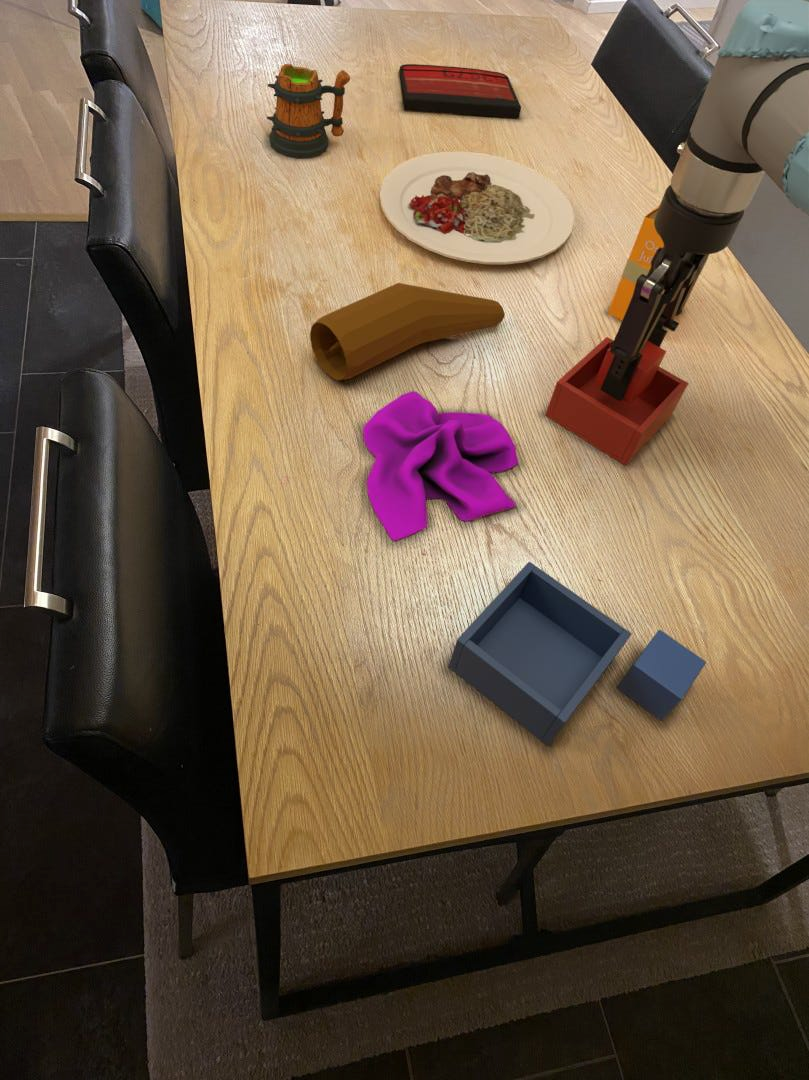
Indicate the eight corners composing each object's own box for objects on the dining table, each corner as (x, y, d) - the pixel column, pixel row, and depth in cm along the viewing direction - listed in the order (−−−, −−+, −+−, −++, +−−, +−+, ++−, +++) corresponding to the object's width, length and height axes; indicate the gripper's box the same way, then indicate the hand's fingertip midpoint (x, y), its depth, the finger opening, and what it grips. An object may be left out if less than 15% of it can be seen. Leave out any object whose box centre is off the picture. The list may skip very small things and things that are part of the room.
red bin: (671, 416, 95) (689, 383, 91) (625, 466, 90) (642, 433, 85) (593, 370, 99) (607, 336, 94) (544, 415, 93) (556, 381, 89)
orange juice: (683, 310, 108) (748, 175, 92) (654, 339, 104) (718, 202, 88) (636, 285, 111) (691, 149, 95) (606, 312, 106) (659, 174, 90)
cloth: (373, 387, 93) (377, 348, 88) (522, 414, 93) (534, 376, 88) (337, 531, 80) (339, 494, 75) (511, 562, 80) (524, 527, 75)
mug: (266, 157, 121) (262, 79, 112) (269, 125, 127) (266, 49, 117) (347, 163, 122) (351, 87, 113) (347, 131, 128) (350, 56, 119)
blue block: (685, 684, 74) (707, 661, 69) (661, 721, 71) (682, 699, 67) (640, 653, 75) (659, 628, 71) (615, 687, 73) (633, 664, 69)
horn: (486, 335, 105) (343, 409, 94) (448, 271, 104) (300, 338, 93) (517, 308, 98) (366, 385, 87) (475, 239, 97) (318, 308, 86)
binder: (521, 105, 135) (404, 97, 132) (519, 119, 137) (403, 111, 134) (507, 68, 145) (398, 60, 142) (505, 81, 146) (397, 74, 144)
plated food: (608, 224, 120) (615, 204, 117) (487, 300, 105) (492, 280, 102) (465, 143, 130) (468, 123, 127) (338, 203, 115) (338, 182, 113)
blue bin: (612, 660, 74) (632, 633, 70) (548, 746, 68) (565, 722, 64) (516, 591, 78) (529, 561, 73) (447, 667, 72) (456, 639, 68)
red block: (650, 383, 90) (666, 351, 86) (630, 404, 88) (645, 372, 84) (615, 362, 92) (629, 329, 88) (593, 382, 89) (607, 349, 85)
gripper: (713, 147, 77) (633, 332, 95) (625, 214, 68) (556, 403, 86) (781, 179, 74) (686, 361, 93) (699, 252, 65) (612, 438, 84)
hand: (623, 381), depth 90 cm, fingers closed on red block, 5 cm apart
